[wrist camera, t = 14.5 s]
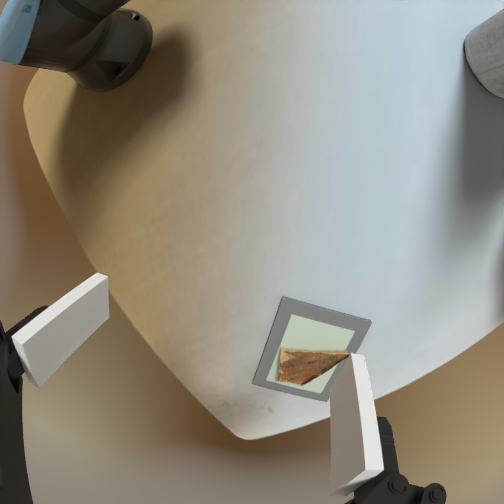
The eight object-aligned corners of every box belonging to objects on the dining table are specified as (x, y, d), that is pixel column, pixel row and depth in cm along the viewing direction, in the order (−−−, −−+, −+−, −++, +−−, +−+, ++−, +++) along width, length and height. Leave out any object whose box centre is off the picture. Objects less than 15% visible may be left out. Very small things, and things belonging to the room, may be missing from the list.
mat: (253, 380, 46) (252, 384, 45) (282, 296, 40) (282, 299, 39) (326, 398, 45) (326, 402, 44) (370, 320, 39) (371, 323, 38)
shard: (350, 348, 40) (351, 355, 38) (340, 383, 42) (341, 390, 41) (281, 343, 42) (280, 350, 40) (277, 378, 44) (276, 385, 42)
